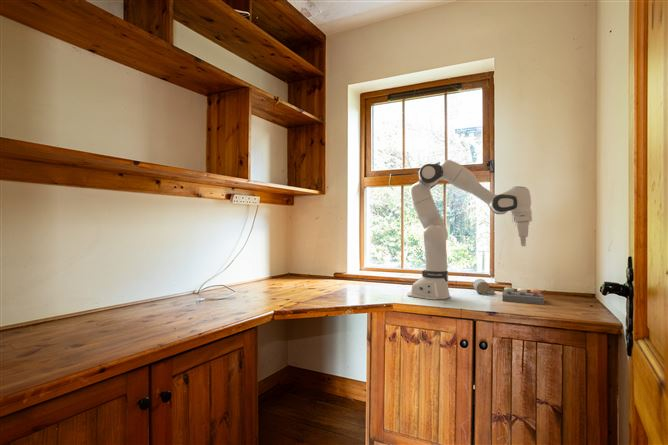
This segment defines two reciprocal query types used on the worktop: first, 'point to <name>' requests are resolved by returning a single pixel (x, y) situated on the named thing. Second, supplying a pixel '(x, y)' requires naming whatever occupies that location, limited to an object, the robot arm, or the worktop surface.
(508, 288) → the sage button
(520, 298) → the button panel
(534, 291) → the terracotta button
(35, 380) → the worktop surface
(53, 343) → the worktop surface
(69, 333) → the worktop surface
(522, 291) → the ivory button
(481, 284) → the ceramic mug
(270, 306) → the worktop surface
